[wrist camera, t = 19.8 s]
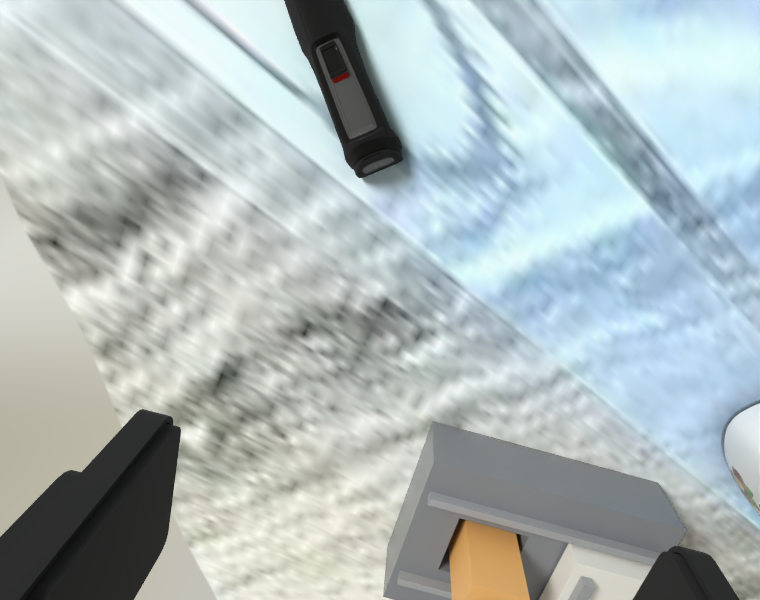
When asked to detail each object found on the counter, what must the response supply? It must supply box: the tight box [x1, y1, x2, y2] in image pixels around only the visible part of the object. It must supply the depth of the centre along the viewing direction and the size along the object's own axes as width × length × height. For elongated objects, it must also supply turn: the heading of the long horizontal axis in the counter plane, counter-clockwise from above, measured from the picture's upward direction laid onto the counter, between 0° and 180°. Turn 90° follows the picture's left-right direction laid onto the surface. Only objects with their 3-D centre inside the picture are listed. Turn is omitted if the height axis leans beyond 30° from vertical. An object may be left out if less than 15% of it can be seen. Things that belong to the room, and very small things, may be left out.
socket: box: [383, 422, 687, 600], centre depth 42 cm, size 19×14×6 cm
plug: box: [449, 518, 530, 600], centre depth 39 cm, size 4×4×12 cm
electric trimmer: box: [284, 0, 403, 178], centre depth 32 cm, size 4×16×3 cm, turn 22°
